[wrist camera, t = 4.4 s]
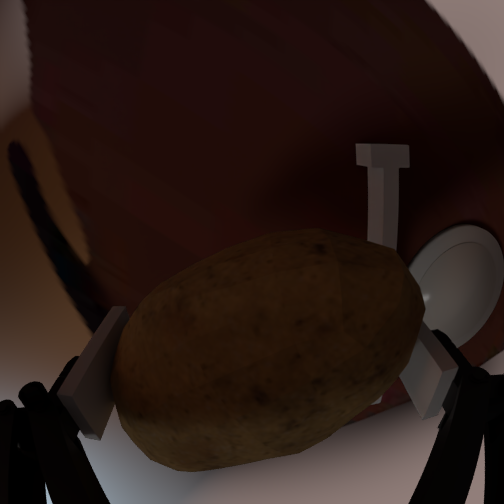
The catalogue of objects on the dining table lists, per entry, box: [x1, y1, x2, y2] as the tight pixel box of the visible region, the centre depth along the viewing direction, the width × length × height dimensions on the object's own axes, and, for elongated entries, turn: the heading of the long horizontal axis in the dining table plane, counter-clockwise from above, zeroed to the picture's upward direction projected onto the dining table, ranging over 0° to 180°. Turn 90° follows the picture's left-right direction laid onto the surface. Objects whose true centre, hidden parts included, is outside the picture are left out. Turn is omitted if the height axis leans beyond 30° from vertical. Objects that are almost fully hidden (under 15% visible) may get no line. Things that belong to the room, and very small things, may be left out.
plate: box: [407, 224, 504, 348], centre depth 25 cm, size 14×14×1 cm
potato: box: [110, 228, 426, 472], centre depth 12 cm, size 10×14×8 cm
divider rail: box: [356, 144, 410, 405], centre depth 24 cm, size 24×3×3 cm, turn 5°
